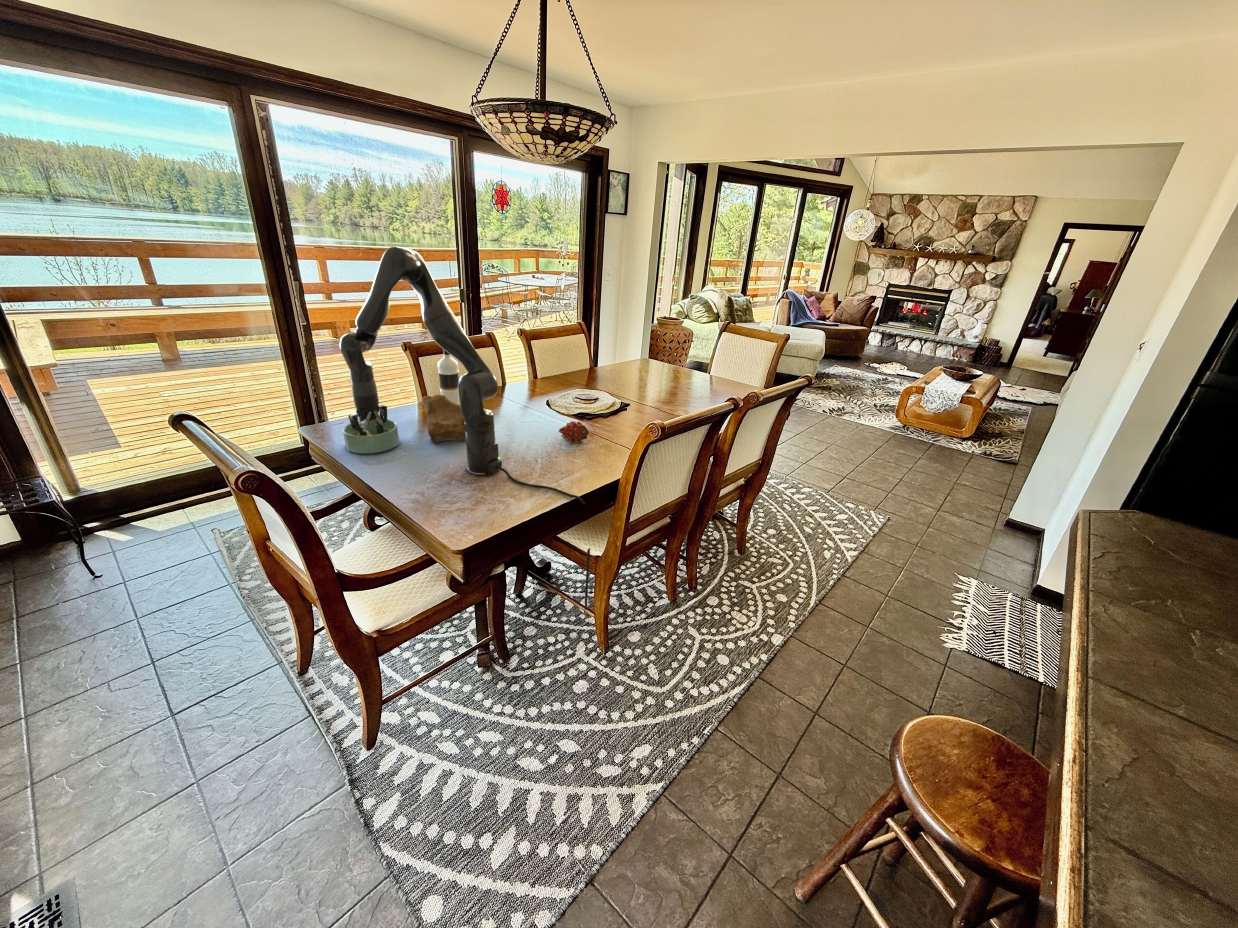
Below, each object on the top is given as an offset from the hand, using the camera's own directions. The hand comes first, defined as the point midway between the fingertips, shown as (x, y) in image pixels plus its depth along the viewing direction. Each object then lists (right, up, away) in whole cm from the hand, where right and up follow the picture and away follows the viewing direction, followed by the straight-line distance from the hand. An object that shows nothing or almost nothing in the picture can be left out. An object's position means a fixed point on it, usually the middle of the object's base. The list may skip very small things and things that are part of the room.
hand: (372, 437), depth 170 cm
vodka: (+15, +14, +39) cm, 44 cm away
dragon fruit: (+70, -1, +17) cm, 72 cm away
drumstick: (0, -2, +1) cm, 2 cm away
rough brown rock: (+23, 0, +12) cm, 25 cm away
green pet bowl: (-1, -3, +2) cm, 4 cm away
